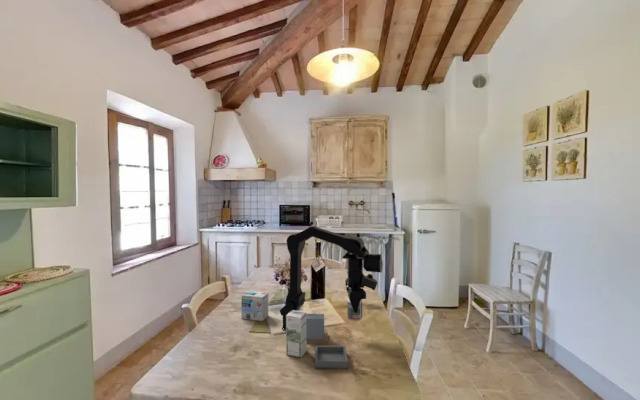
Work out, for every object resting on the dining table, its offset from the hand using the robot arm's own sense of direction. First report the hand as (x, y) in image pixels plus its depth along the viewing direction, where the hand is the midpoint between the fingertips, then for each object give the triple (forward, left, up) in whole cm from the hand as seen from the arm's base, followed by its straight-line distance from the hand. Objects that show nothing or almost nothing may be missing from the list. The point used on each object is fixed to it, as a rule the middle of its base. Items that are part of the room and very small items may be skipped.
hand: (354, 309), depth 129 cm
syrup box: (-22, -12, -12) cm, 28 cm away
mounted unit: (-16, -1, -11) cm, 20 cm away
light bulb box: (-43, +21, -12) cm, 49 cm away
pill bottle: (0, 0, -4) cm, 4 cm away
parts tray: (-10, -17, -11) cm, 23 cm away
